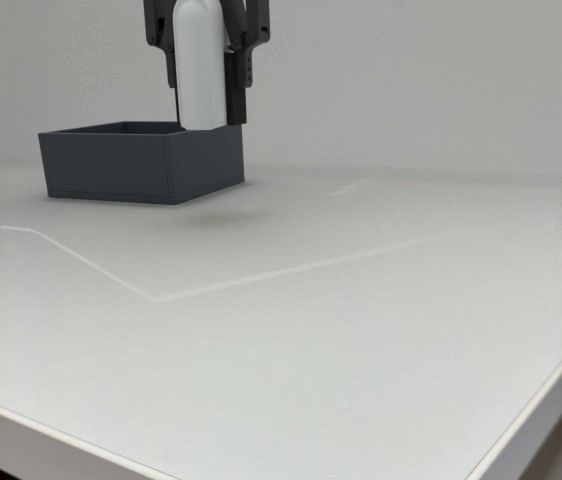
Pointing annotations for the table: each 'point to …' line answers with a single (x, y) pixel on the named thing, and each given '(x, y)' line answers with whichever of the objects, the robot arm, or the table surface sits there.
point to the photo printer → (200, 63)
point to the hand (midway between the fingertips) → (212, 123)
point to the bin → (141, 161)
